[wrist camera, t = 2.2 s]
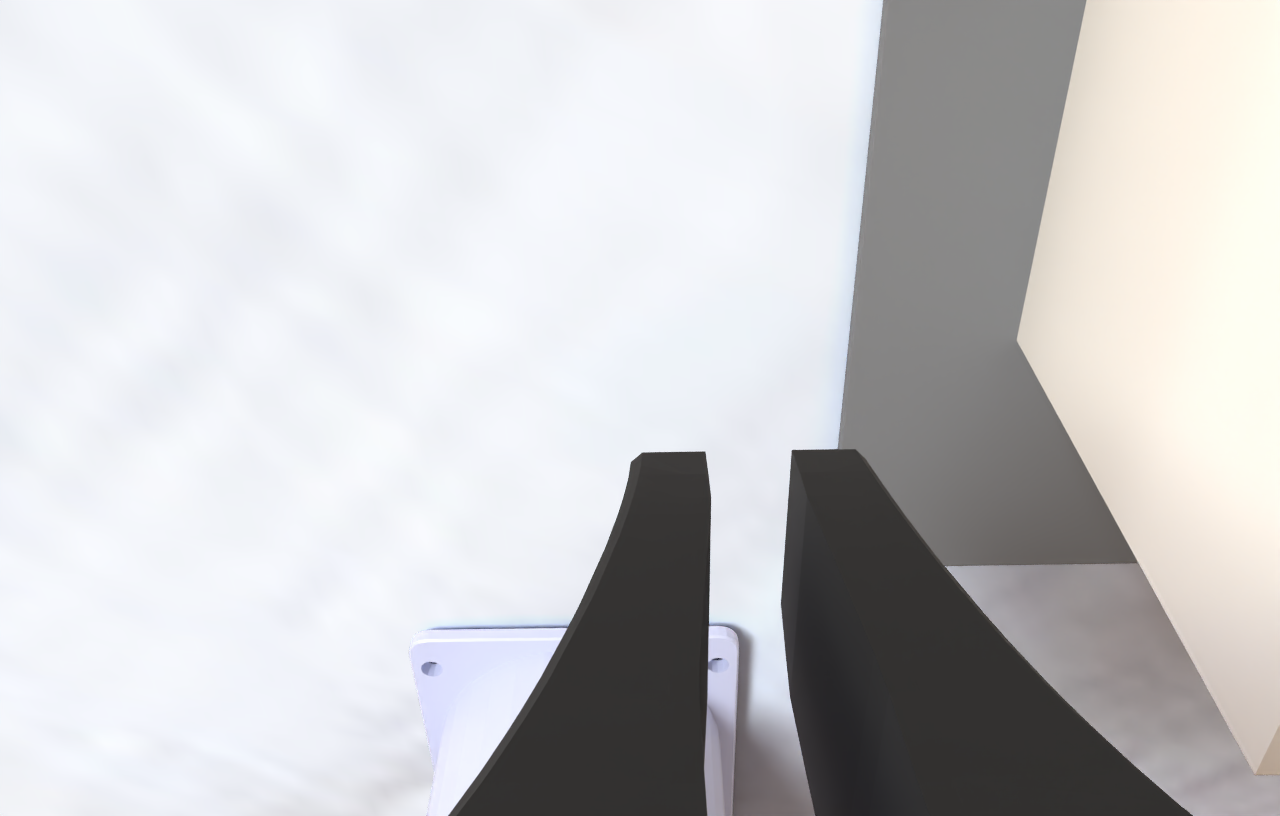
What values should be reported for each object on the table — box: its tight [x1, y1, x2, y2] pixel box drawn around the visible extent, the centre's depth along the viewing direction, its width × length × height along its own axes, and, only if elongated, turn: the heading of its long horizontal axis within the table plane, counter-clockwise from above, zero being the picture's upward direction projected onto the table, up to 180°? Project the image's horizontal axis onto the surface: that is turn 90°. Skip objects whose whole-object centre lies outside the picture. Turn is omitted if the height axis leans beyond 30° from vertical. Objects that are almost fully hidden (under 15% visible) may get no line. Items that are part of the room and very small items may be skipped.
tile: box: [1017, 0, 1280, 775], centre depth 15 cm, size 8×2×10 cm, turn 1°
